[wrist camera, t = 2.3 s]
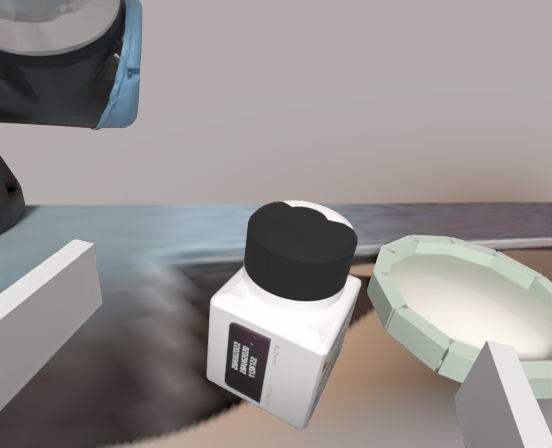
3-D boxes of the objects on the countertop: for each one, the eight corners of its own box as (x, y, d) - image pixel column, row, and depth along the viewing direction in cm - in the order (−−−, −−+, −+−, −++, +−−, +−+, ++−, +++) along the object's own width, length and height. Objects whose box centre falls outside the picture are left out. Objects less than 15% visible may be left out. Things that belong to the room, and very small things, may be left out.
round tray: (350, 338, 32) (357, 317, 31) (384, 236, 48) (390, 218, 46) (611, 442, 27) (632, 421, 26) (554, 288, 42) (565, 271, 41)
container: (303, 434, 24) (349, 276, 18) (203, 379, 27) (211, 223, 20) (340, 352, 31) (384, 212, 24) (256, 314, 33) (275, 177, 27)
